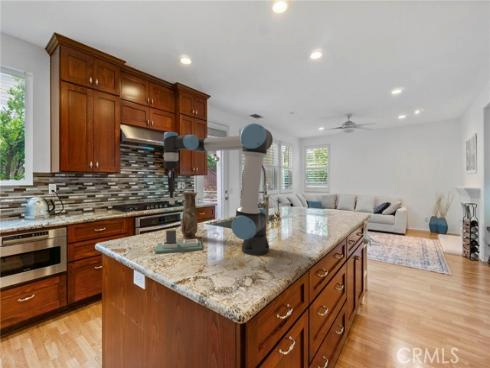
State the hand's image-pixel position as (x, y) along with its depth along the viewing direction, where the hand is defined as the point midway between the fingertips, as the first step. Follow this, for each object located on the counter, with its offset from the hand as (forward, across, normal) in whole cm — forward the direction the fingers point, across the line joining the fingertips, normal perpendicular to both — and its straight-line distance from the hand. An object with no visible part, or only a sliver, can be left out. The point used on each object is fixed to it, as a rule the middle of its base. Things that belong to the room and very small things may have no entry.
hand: (171, 203), depth 128 cm
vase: (+25, -21, +8) cm, 33 cm away
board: (+25, 0, +4) cm, 25 cm away
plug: (+24, 0, -1) cm, 24 cm away
